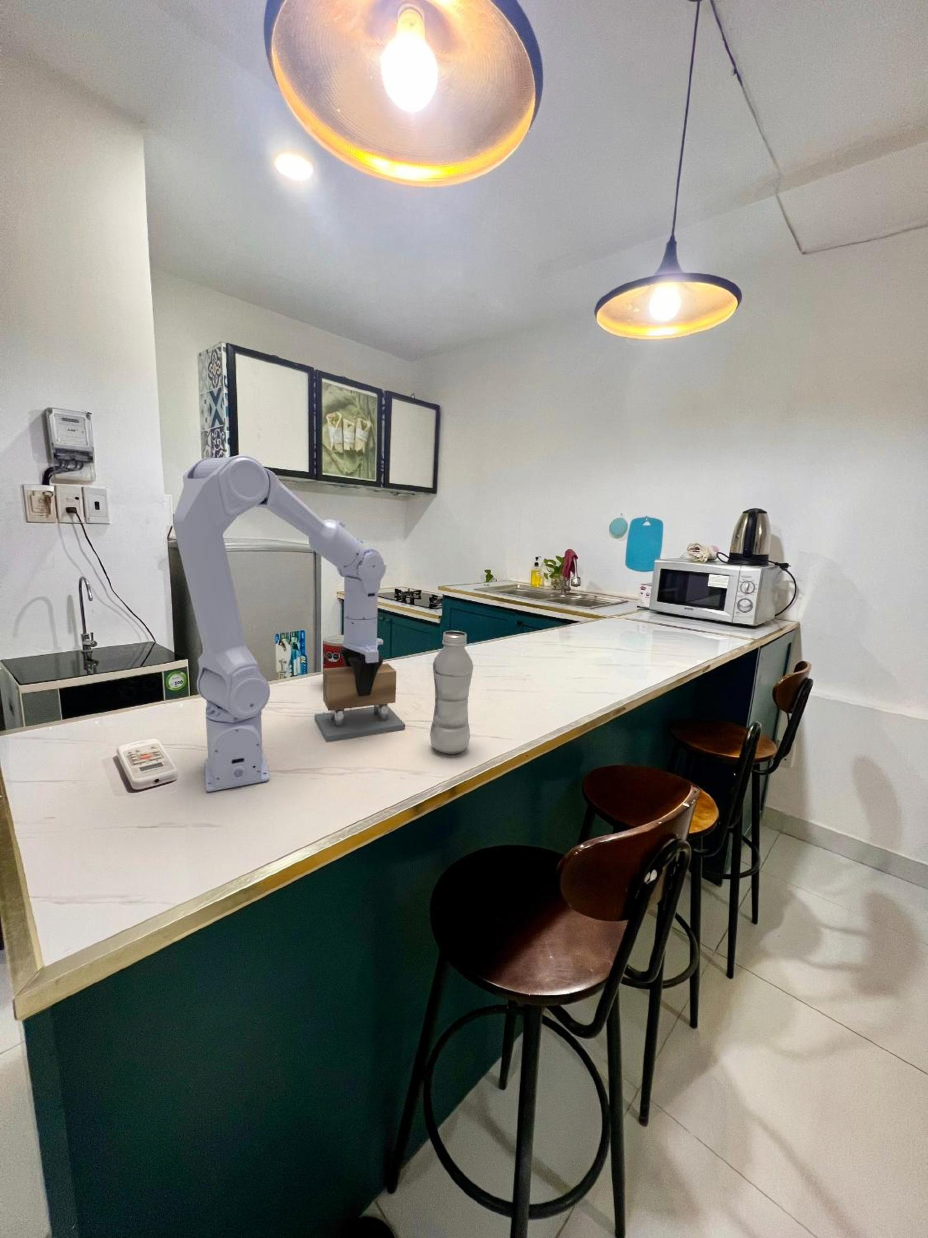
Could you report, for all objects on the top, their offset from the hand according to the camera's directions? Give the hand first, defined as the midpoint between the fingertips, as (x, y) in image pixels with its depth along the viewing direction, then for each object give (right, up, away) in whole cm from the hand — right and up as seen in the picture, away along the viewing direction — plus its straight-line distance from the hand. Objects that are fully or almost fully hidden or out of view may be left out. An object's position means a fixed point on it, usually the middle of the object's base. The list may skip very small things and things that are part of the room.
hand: (359, 690), depth 88 cm
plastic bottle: (+16, -9, -6) cm, 20 cm away
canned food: (-8, -2, +20) cm, 22 cm away
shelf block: (0, -2, 0) cm, 2 cm away
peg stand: (0, -6, +1) cm, 7 cm away
